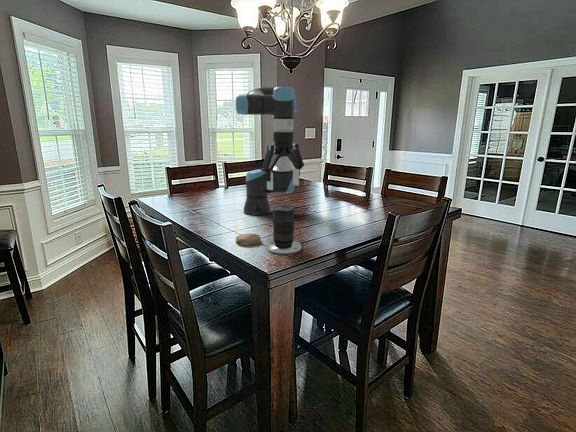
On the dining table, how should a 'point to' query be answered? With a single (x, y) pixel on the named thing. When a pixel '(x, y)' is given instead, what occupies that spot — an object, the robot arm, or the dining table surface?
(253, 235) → the walnut coaster
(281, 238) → the camera lens
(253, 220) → the dining table surface
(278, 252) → the mount flange
